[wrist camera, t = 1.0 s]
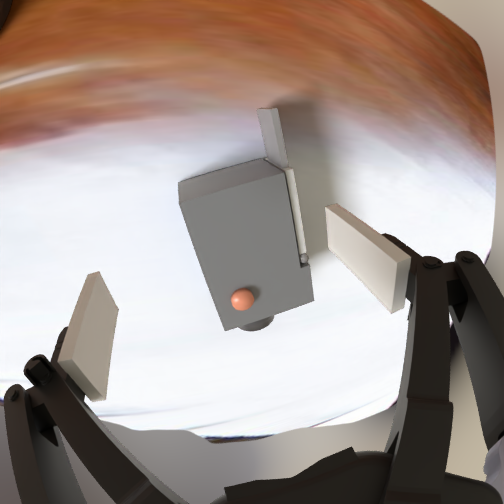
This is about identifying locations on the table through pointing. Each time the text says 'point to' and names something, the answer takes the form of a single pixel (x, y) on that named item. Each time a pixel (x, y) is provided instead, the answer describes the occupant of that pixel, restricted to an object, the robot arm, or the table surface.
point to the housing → (246, 243)
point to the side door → (282, 169)
